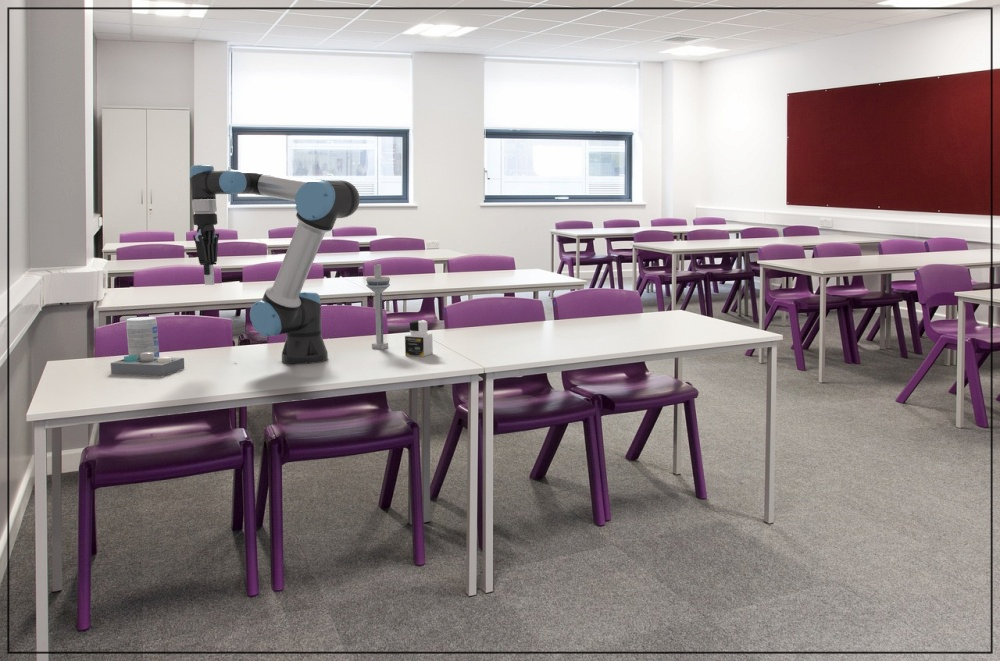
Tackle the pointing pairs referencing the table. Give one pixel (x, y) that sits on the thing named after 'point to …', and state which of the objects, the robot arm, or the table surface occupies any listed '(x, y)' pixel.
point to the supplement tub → (142, 335)
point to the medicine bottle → (418, 340)
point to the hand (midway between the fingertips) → (209, 284)
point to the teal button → (131, 358)
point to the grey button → (147, 357)
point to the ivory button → (164, 359)
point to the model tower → (378, 303)
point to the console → (147, 367)
